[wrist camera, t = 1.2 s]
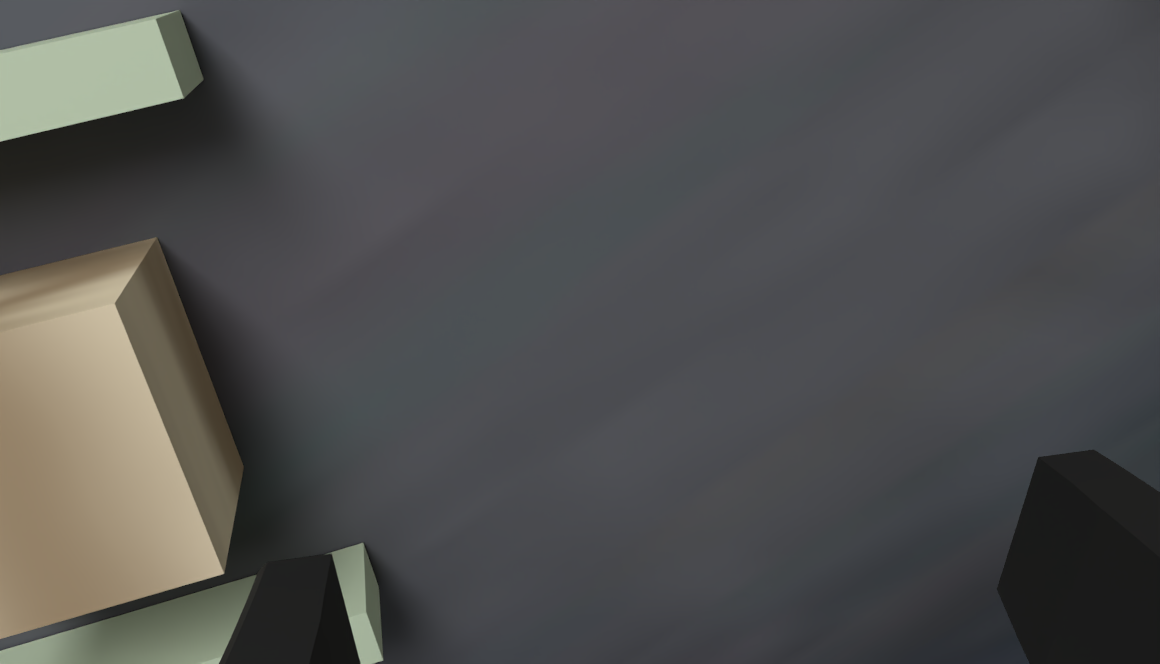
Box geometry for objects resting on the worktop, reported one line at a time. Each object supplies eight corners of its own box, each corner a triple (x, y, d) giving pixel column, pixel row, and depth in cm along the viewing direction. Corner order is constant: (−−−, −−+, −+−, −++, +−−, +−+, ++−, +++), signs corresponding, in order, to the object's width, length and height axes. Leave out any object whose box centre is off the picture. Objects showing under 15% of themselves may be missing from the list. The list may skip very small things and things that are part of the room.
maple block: (158, 235, 19) (114, 303, 15) (244, 464, 21) (224, 573, 17) (-124, 304, 18) (-241, 393, 14) (-8, 533, 20) (-85, 663, 16)
